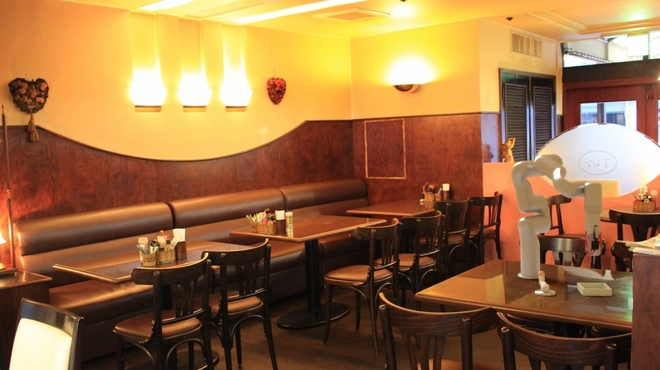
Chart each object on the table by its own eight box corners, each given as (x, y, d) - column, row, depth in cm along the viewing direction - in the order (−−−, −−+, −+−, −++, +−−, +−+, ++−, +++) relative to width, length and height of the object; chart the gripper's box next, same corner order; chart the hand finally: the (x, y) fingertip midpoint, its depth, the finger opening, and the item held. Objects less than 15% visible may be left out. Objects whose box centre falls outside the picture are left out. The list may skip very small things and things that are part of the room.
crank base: (533, 291, 299) (533, 288, 299) (553, 291, 298) (553, 288, 298) (536, 296, 291) (536, 293, 290) (557, 296, 289) (556, 293, 289)
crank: (541, 291, 293) (541, 276, 292) (537, 285, 306) (537, 270, 305) (549, 291, 292) (549, 276, 291) (545, 285, 305) (545, 270, 305)
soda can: (603, 256, 288) (603, 229, 287) (586, 256, 289) (586, 230, 288) (600, 253, 295) (599, 227, 294) (583, 253, 296) (583, 227, 295)
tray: (577, 289, 300) (577, 282, 300) (604, 289, 298) (604, 282, 298) (582, 295, 288) (582, 289, 288) (611, 295, 286) (611, 289, 286)
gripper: (580, 207, 300) (580, 244, 301) (588, 211, 283) (589, 251, 284) (597, 207, 298) (597, 244, 300) (606, 211, 281) (606, 251, 282)
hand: (593, 247), depth 292 cm, fingers closed on soda can, 6 cm apart
